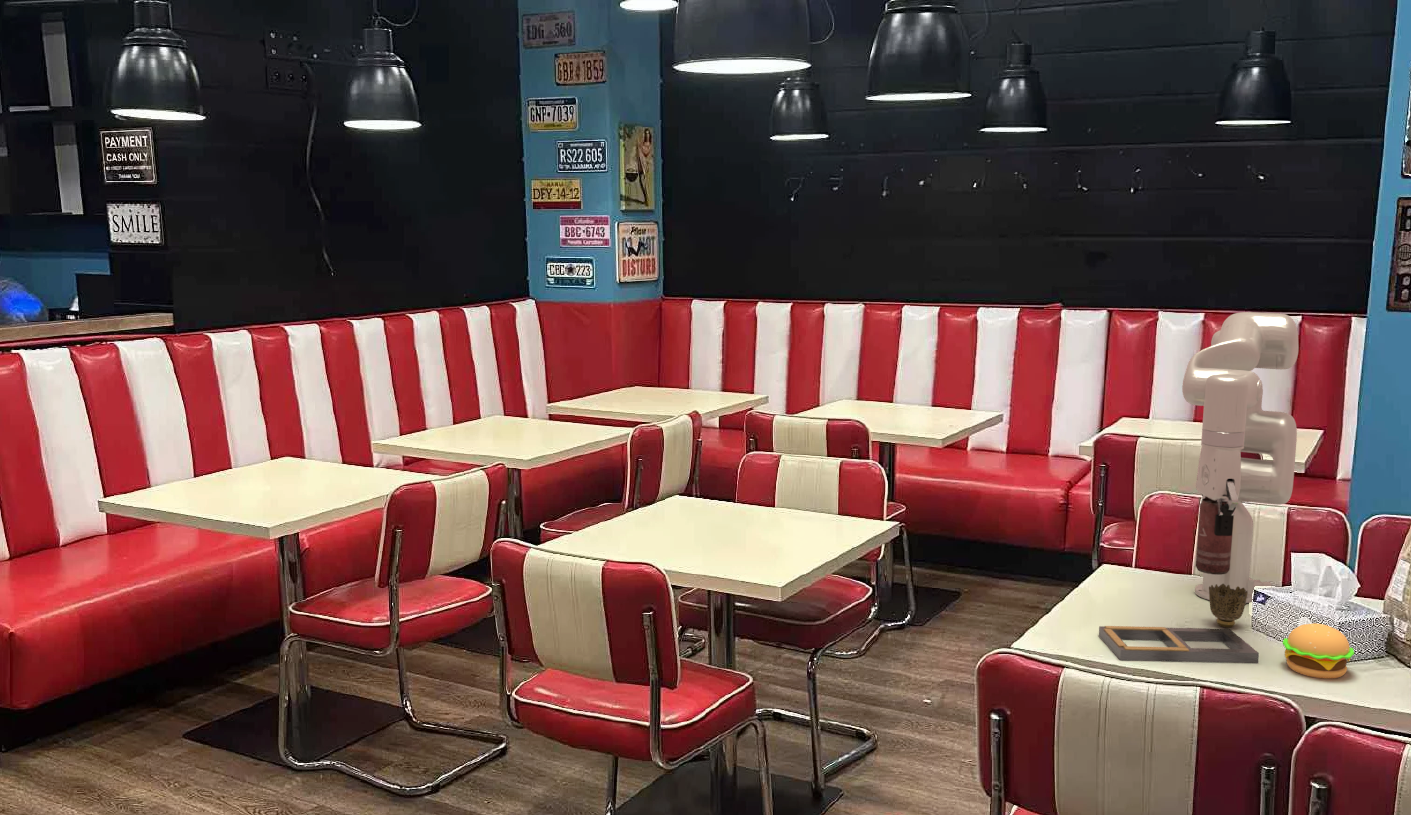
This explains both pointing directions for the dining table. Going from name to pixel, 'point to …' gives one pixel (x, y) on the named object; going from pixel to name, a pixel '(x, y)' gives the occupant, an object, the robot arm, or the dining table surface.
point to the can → (1211, 542)
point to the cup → (1227, 604)
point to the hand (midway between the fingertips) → (1216, 529)
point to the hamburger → (1317, 651)
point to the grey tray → (1177, 644)
